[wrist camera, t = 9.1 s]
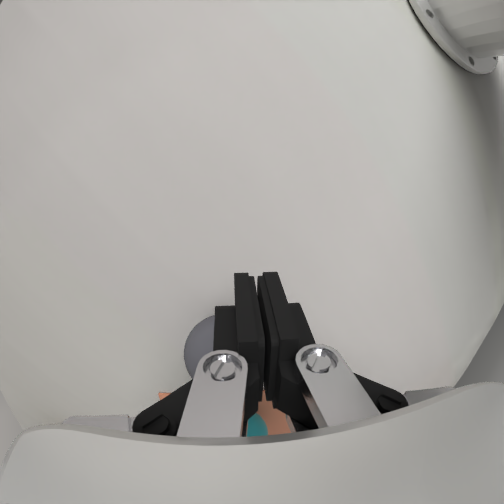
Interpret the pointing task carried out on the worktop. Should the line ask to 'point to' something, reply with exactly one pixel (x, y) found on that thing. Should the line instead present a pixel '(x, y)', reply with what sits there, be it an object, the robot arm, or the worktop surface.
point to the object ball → (256, 426)
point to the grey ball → (199, 344)
